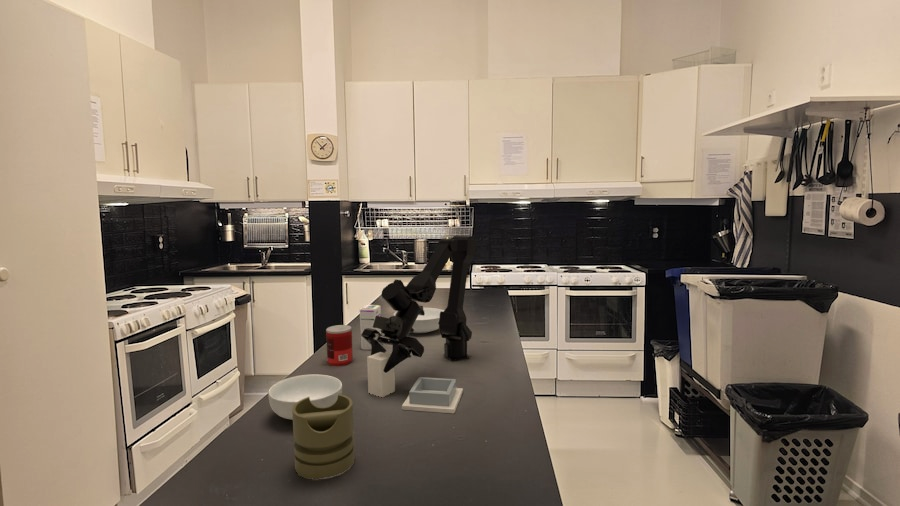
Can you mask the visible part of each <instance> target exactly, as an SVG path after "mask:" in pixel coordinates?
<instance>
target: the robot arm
mask: <svg viewBox="0 0 900 506" xmlns="http://www.w3.org/2000/svg"><path fill="white" fill-rule="evenodd" d="M477 248H478V242H477V240H476V239H475V237H474V236H473V235H455V234H454V235H453V237H451V238H441V239H439V240H438V243H437V246H436V247H435V249H434V251H433V253H432V254H431V256H430V258H429V259H428V261H427V263H426V264H425V266H424V268H423V269H422V270H421V271H420V273H418V274H416V275H415V276H413V277H412V278H411V280H410V281H409V282H408V283H407V284H406V285H405V284H404V282H403V281H402V280H401V279H394V281H393V282H391V283H389V284H387V285H386V286H385V287H384V288H382V291H381V298H382V299H384V301H385V302H386V303H387V304H388V305H389V307H391V308H392V309H393V310H394V311H395V312H397V313H396V315H395V316H394V315H392V316H389V318H388V317H385V316H381V317H380V316H376V317H375V320H374V324H373V328H379V329H381V332H382V335H381V334H380V333H379V332H378V331H377V330H375V329H370V328H366V329H364V331H363V333H362V334H361V333H360V337H361V336H362V337H363V338H364V339H365V340H366V341H367V342H369V343H370V344H371V347H372V348H371V350H370V351H371V352H370V356H371V355H373V354H376V353H379V352H383V353H387V349H386V348H384V346H385V345H390V346H392V351H391V353H390V354H391V355H390V357H389V359H388V361H387V363H386V365H385V368H384V370H383V371H384V372H385V373H387V372H388V371H390V370H391V369H392V368H394V369H395V367H396V366H398V365H399V364H400V363H401V362H404V361H405V360H406V359H408V358H409V359H410V358H411V357H412V356H414V357H418V358H422V356H423V354H424V353H425V346H423V344H422V343H421V342H420V341H419V340H418V339H417V338H416V337H412V336H409V334H410V333H411V334H414V333H413V331H414V329H413V328H412V326H413V324H414V323H415V321H416V319H417V317H418V315H423V316H424V315H425V313H424V310H423V308H424V305H420V304H419V303H424V304H426V303H429V302H430V301H431V300H432V299H433V297H434V294H435V292H436V290H437V284H436V283H437V280H438V278H439V276H440V275H441V273H442V271H443V270H444V267H445V266H447V264H448V261H449V259H450V258H451V261H452V268H451V277H450V283H449V292H448V298H447V305H446V306H447V307H446V308H445V309H443V310H444V312H442V311H441V312H440V319H439V322H438V324H439V329H438V330H439V332H440V336H441V339H445V343H443V344H444V347H443V350H444V353H443V356H444V357H445V358H447V359H448V360H450V361H452V362H453V361H460V360H466V359H470V355H468V342H469V341H470V340H471V339H472V336H473V335H472V334H473V332H472V330H471V329H470V328H469V327H468V326H469V325H467V316H466V314H465V311H464V303H465V302H464V300H465V293H466V286H467V285H466V284H467V278H468V270H469V264H470V263H471V262H472V260H473V259H474V257H475V254H476V251H477Z"/></svg>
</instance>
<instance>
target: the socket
mask: <svg viewBox="0 0 900 506" xmlns="http://www.w3.org/2000/svg"><path fill="white" fill-rule="evenodd" d="M408 393H409V394H408V396H407V397H406V399H405V401H404V402H403V403H402V405H401V410H403V411H416V412H430V413H443V414H455V413H456V411H457V408H458V405H459V403H460V400H461V399H462V396H463V393H464V388H462V387H460V388H459V387H457V379H456V378H440V377H422V376H419V377H418V378H417V380H416V381H415V382H414V384H413V385H412V387H411V389H410V390H409V392H408Z"/></svg>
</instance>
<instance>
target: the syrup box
mask: <svg viewBox="0 0 900 506" xmlns="http://www.w3.org/2000/svg"><path fill="white" fill-rule="evenodd" d="M381 308H382V307H381V305H379V304H365V305H364V306H363V307H361V308H359V325H360V341H361V342H360V345H361V346H360V347H361V350H366V351H371V348H372V347H371V344H370V343H369V342H367V341H366V340H365V339H364V338H363V337H362V336H361V334H362V333H363V331H364V329H366V328H370V329H375V330H377V331H378V332H379V333H380V334H381V335H382V336H383V333H382V332H381V329H379V328H373V324H374V320H375V317H376V316H380V317H382V309H381Z"/></svg>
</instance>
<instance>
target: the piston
mask: <svg viewBox="0 0 900 506" xmlns="http://www.w3.org/2000/svg"><path fill="white" fill-rule="evenodd" d="M353 403H354V402H353V399H351V398H350V397H349V396H347V395H344V394H342V395H341V394H338V398H337V400H336V402H335V403H334V404H332V405H330V406H328V407H318V406H315V405H314V404H312V402H311V401H310V398H309V397H307V398H304V399H302V400H300V401H298V402H297V403H296V404H295V405H294V406H293V408H292V417H293V420H292V431H293V432H292V434H293V436H292V437H293V441H294V443H293V452H294V470H296V471H295V473H296V472H297V473H298V474H299V475H300V476H302V477H305V478H311V479H312V478H313V479H319V478H324V477H330V476H334V475H337V474H339V473H342V472H344V471H345V470H347V469H348V468H349V467H350V466H351V465H352V464H353V462H354V459H355V439H354V438H355V436H354V408H353V405H354V404H353ZM354 463H355V462H354ZM297 473H296V474H297ZM298 474H297V475H298ZM299 475H298V476H299ZM300 476H299V477H300ZM302 477H301V478H302Z"/></svg>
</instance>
